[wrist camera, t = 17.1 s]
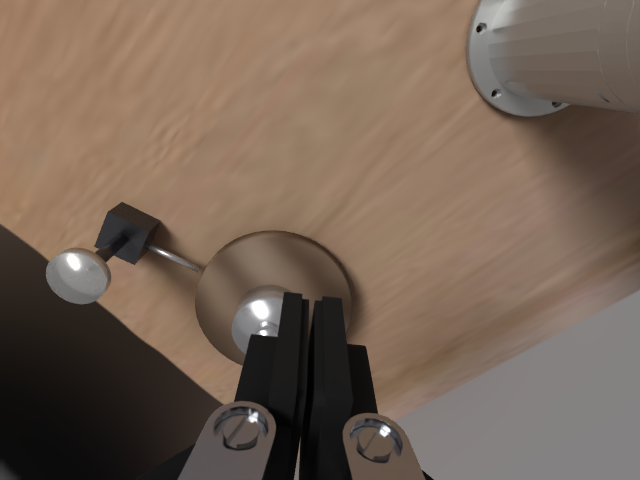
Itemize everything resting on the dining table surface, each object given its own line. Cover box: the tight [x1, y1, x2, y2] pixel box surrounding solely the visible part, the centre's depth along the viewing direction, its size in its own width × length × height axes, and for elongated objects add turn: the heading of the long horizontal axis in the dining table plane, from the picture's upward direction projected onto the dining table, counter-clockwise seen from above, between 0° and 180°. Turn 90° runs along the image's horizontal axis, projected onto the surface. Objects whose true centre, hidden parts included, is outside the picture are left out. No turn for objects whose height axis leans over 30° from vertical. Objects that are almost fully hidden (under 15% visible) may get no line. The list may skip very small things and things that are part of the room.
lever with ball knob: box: [46, 202, 200, 304], centre depth 37 cm, size 10×4×11 cm, turn 61°
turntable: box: [195, 231, 352, 366], centre depth 41 cm, size 16×16×6 cm
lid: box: [232, 285, 293, 354], centre depth 40 cm, size 7×7×4 cm
